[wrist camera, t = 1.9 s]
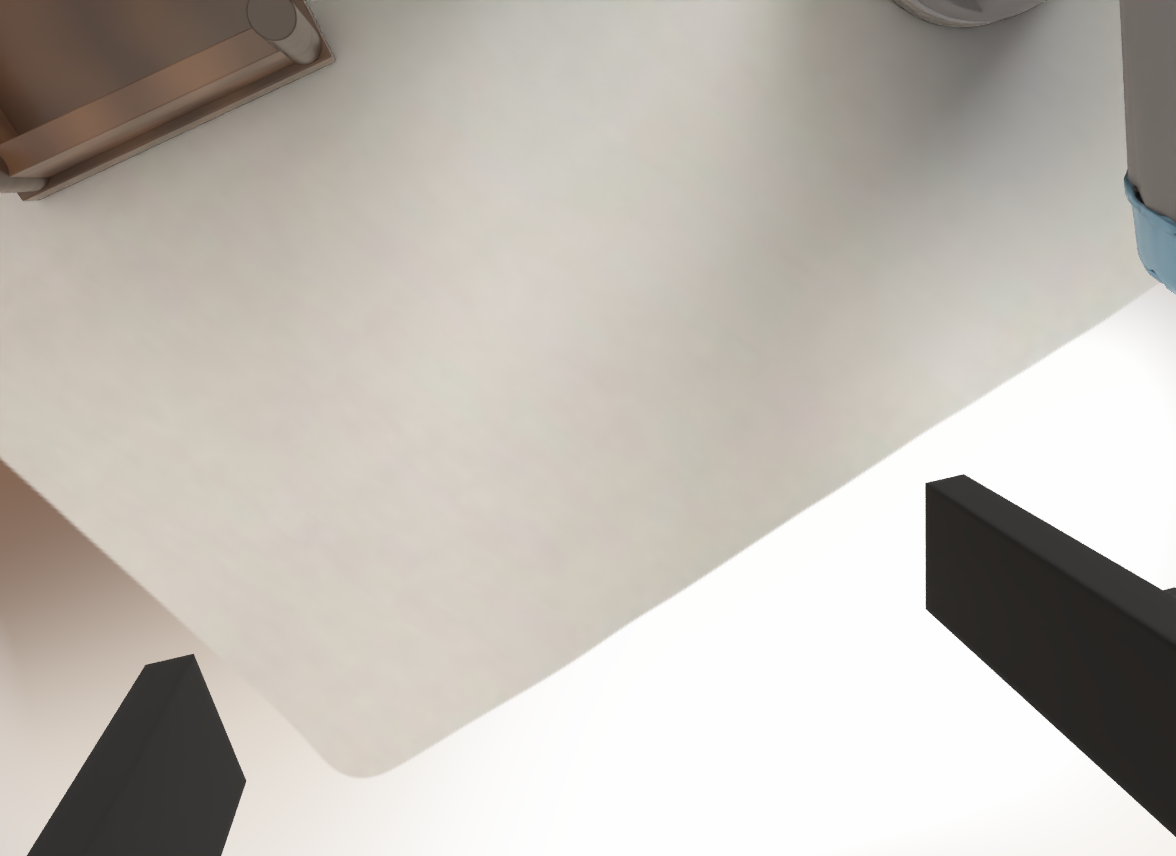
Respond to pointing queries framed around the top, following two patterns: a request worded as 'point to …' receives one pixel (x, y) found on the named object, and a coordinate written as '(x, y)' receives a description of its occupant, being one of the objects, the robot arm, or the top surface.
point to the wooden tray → (133, 77)
